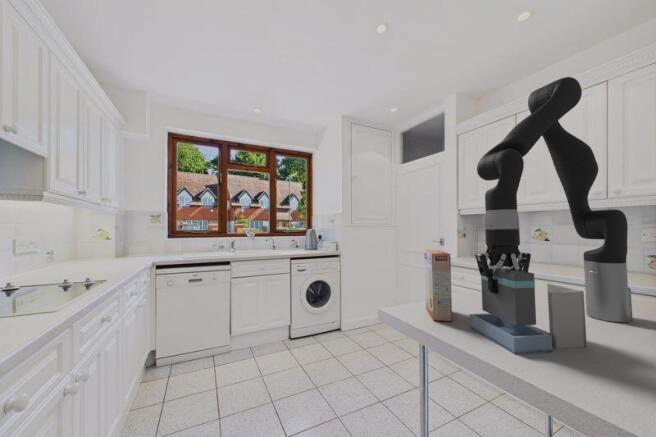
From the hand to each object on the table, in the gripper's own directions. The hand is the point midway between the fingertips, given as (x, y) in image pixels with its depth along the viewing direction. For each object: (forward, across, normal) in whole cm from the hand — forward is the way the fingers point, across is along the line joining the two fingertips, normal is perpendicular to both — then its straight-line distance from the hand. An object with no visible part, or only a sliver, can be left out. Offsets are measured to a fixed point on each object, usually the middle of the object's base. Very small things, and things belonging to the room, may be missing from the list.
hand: (504, 292), depth 69 cm
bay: (+12, +10, -2) cm, 16 cm away
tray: (+12, 0, 0) cm, 12 cm away
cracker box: (+12, -8, +20) cm, 25 cm away
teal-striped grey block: (+6, 0, -1) cm, 6 cm away
